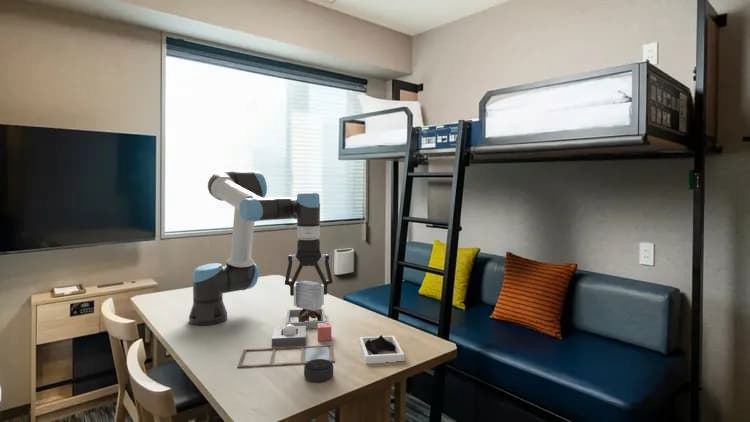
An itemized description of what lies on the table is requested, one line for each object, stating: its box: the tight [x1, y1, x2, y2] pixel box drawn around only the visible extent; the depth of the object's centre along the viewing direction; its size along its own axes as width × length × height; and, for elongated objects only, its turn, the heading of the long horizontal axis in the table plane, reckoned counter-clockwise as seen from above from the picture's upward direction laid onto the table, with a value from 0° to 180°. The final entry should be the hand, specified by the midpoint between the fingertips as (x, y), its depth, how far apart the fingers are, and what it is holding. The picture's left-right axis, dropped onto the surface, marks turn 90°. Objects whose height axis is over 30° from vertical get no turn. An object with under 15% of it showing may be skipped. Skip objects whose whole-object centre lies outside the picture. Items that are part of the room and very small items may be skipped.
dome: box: [283, 324, 296, 335], centre depth 157 cm, size 5×5×6 cm
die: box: [317, 321, 332, 342], centre depth 160 cm, size 5×5×6 cm
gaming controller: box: [365, 334, 395, 355], centre depth 147 cm, size 11×4×7 cm
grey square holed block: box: [271, 326, 307, 348], centre depth 158 cm, size 12×12×3 cm
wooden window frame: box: [237, 344, 336, 369], centre depth 143 cm, size 31×14×1 cm, turn 99°
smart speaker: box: [303, 359, 334, 383], centre depth 129 cm, size 9×9×4 cm
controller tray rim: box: [358, 335, 405, 365], centre depth 147 cm, size 13×17×2 cm
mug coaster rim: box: [285, 307, 327, 330], centre depth 178 cm, size 16×18×2 cm
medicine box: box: [295, 280, 323, 311], centre depth 142 cm, size 8×4×9 cm, turn 57°
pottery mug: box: [297, 308, 322, 322], centre depth 177 cm, size 12×10×8 cm
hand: (308, 304), depth 142 cm, fingers closed on medicine box, 9 cm apart
